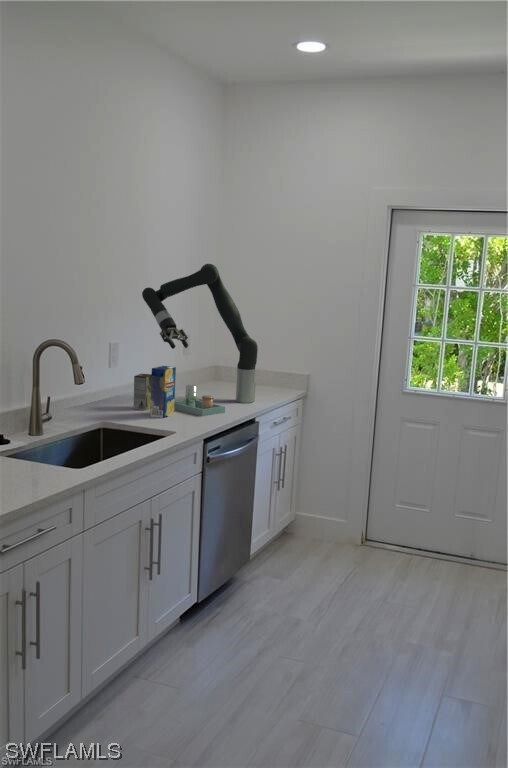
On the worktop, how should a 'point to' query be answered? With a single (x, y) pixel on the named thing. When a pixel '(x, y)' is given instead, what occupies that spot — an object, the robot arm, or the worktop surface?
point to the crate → (198, 408)
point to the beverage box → (162, 391)
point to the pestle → (207, 402)
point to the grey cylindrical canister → (191, 395)
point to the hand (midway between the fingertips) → (180, 347)
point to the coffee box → (142, 391)
